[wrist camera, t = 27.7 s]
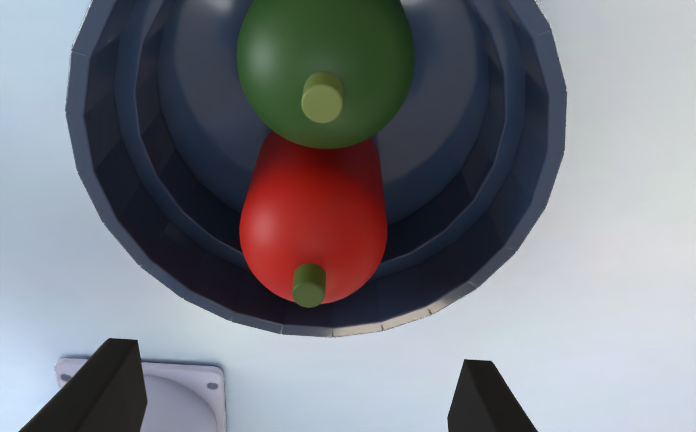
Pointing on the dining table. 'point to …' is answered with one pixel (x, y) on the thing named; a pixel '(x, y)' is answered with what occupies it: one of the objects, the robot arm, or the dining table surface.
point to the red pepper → (314, 220)
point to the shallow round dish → (250, 131)
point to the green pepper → (326, 67)
